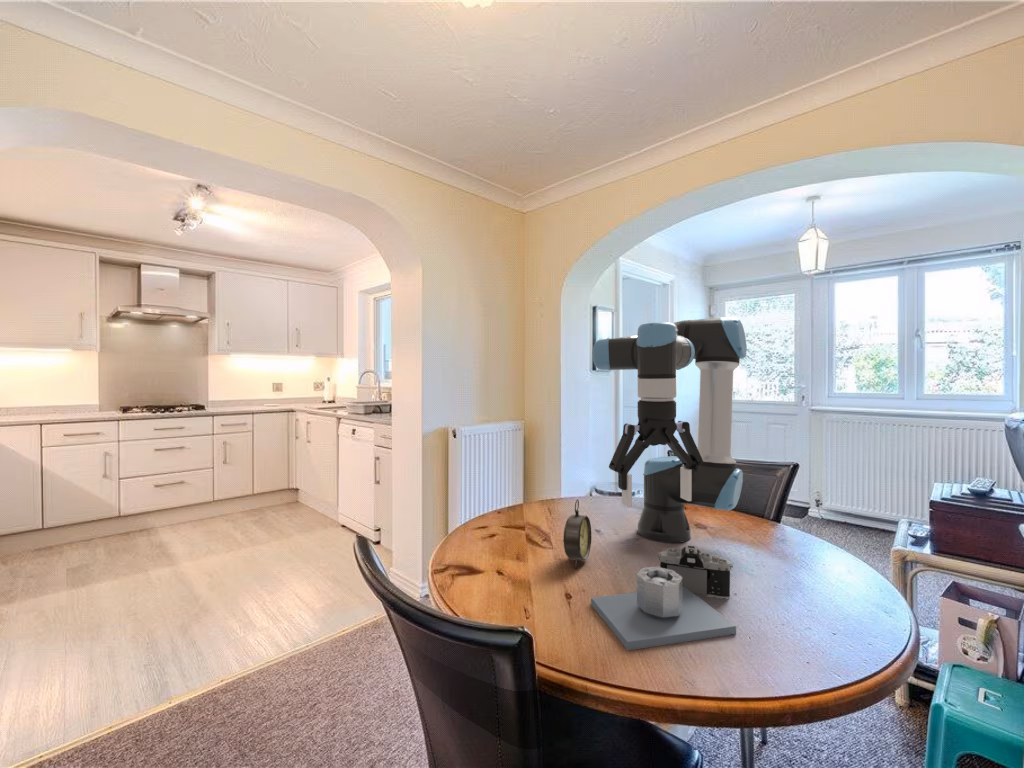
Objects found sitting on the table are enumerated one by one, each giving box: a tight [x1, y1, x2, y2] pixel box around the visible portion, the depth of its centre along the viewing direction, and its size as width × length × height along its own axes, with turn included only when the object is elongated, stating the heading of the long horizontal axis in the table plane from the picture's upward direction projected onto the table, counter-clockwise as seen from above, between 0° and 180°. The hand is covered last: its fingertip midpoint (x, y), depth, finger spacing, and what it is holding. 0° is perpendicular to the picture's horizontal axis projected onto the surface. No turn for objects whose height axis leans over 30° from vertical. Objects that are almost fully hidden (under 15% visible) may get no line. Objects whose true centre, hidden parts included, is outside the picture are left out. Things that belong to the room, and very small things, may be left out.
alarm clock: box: [562, 498, 592, 570], centre depth 115 cm, size 11×5×16 cm, turn 155°
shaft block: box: [590, 577, 737, 651], centre depth 88 cm, size 22×16×8 cm
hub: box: [636, 566, 683, 618], centre depth 88 cm, size 8×8×6 cm
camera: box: [657, 545, 734, 599], centre depth 101 cm, size 16×9×10 cm, turn 69°
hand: (656, 502), depth 92 cm, fingers open, 13 cm apart
